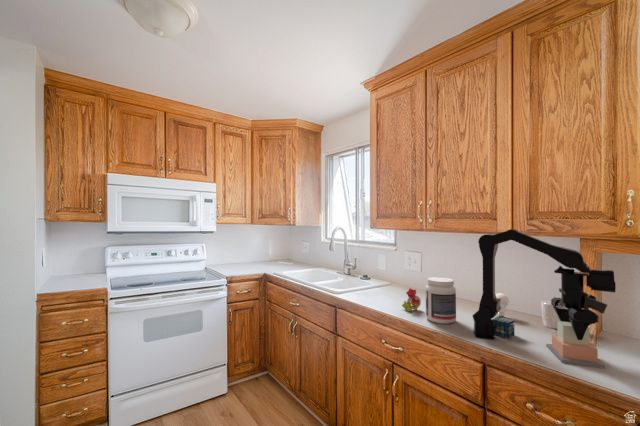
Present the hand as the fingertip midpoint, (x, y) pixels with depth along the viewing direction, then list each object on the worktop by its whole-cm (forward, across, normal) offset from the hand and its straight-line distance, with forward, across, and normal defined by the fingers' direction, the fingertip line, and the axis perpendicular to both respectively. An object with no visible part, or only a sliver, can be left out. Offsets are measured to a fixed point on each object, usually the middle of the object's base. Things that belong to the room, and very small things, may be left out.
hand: (573, 334), depth 99 cm
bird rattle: (+8, +35, +53) cm, 64 cm away
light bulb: (+7, +39, +13) cm, 42 cm away
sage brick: (+2, 0, 0) cm, 2 cm away
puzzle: (+8, +14, +17) cm, 23 cm away
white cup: (+7, +32, -5) cm, 33 cm away
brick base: (+7, 0, 0) cm, 7 cm away
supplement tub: (+8, +24, +40) cm, 47 cm away
